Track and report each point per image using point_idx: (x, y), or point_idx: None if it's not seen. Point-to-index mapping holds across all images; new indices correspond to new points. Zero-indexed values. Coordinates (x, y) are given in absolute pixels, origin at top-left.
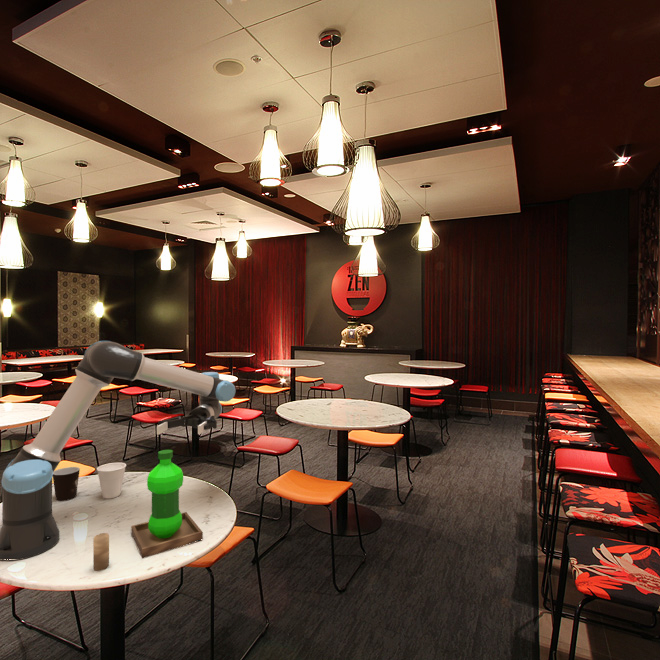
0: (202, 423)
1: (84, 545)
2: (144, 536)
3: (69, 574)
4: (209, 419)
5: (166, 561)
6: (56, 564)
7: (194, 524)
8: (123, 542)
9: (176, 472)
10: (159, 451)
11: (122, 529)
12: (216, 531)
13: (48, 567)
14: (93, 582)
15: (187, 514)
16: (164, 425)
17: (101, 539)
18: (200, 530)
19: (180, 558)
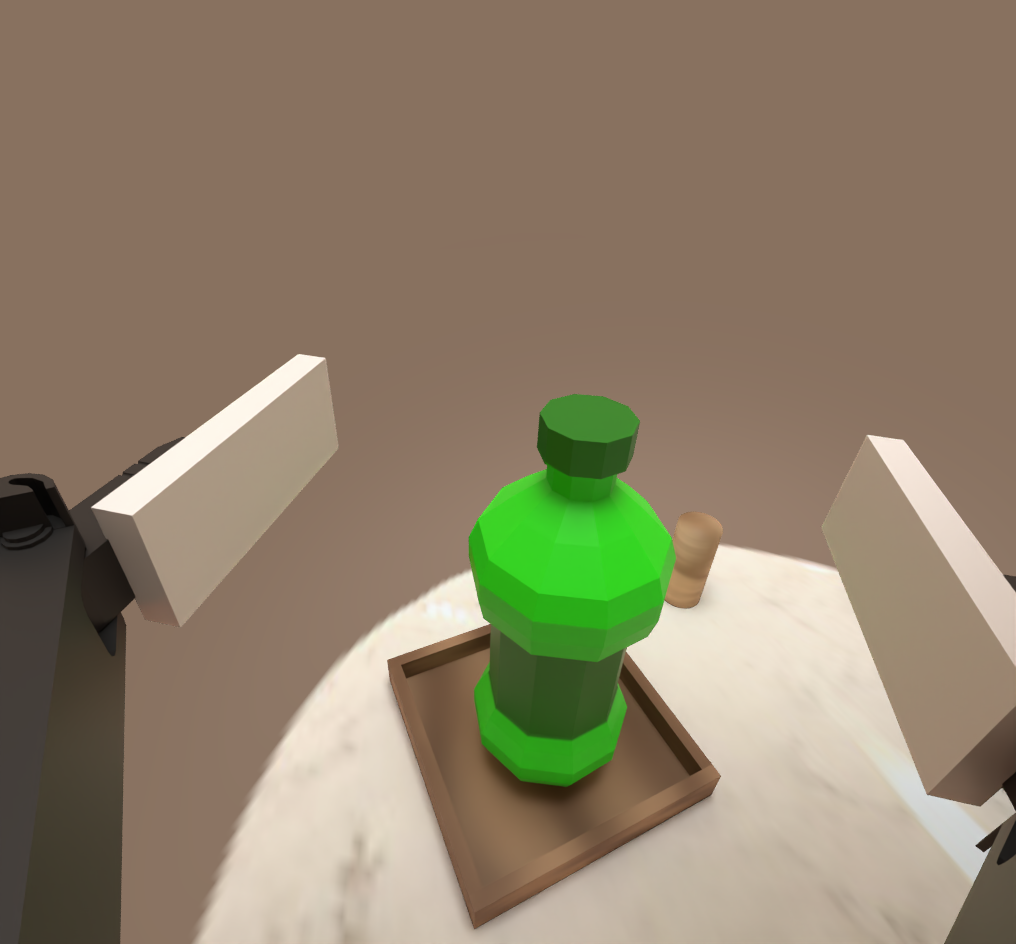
0: (228, 425)
1: (845, 727)
2: (628, 730)
3: (745, 578)
4: (5, 485)
5: None
6: (830, 626)
7: (420, 730)
8: (699, 721)
9: (502, 493)
10: (635, 425)
11: (787, 856)
12: (326, 740)
13: (839, 616)
14: None
15: (463, 866)
16: (926, 589)
17: (687, 512)
18: (395, 673)
19: (460, 591)
